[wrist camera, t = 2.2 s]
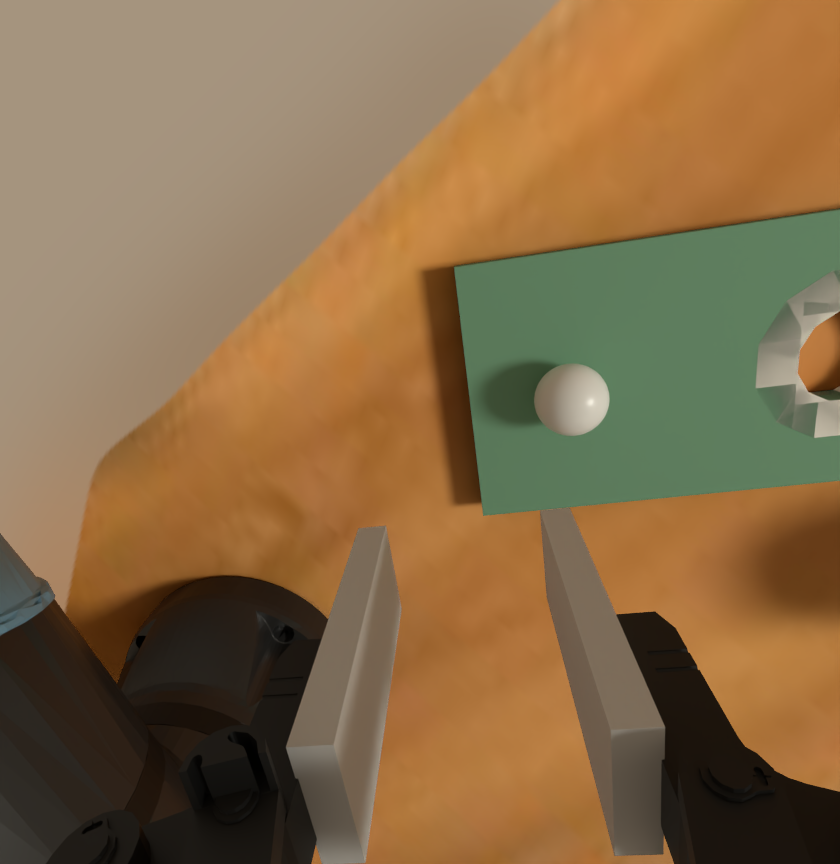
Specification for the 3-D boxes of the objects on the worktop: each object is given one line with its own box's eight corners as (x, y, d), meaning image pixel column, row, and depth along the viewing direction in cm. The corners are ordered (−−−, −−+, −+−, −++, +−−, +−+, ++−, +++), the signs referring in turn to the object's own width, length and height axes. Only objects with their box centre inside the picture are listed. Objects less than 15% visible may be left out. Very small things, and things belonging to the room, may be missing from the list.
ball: (532, 426, 28) (542, 450, 25) (527, 361, 27) (537, 378, 24) (599, 418, 28) (619, 442, 25) (597, 352, 27) (618, 368, 24)
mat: (482, 502, 32) (483, 515, 31) (454, 266, 27) (454, 267, 26) (906, 459, 30) (931, 471, 28) (954, 191, 25) (986, 187, 23)
